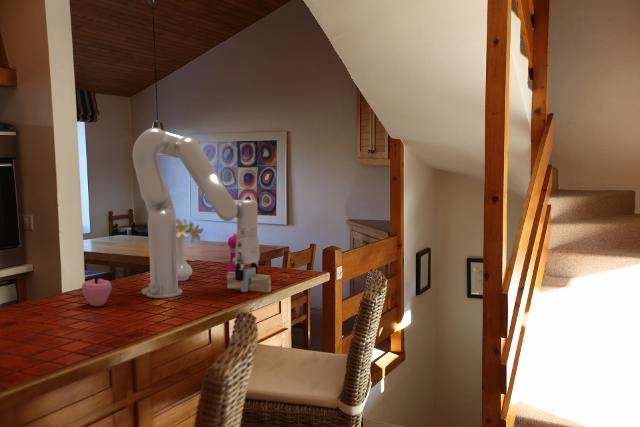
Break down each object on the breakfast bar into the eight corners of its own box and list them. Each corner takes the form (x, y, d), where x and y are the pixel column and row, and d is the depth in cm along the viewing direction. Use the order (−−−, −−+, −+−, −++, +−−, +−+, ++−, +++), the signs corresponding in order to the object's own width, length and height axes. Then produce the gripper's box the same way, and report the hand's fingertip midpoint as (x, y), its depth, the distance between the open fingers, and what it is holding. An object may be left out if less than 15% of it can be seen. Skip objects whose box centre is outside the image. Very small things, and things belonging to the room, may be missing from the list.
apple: (117, 304, 199) (116, 275, 198) (96, 310, 192) (94, 280, 191) (98, 301, 204) (97, 272, 203) (77, 306, 197) (75, 277, 196)
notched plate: (241, 291, 217) (240, 270, 217) (251, 287, 224) (251, 267, 223) (245, 292, 216) (245, 270, 216) (255, 288, 223) (255, 267, 222)
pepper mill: (247, 279, 239) (246, 230, 237) (242, 283, 232) (242, 233, 230) (229, 279, 240) (228, 230, 238) (225, 283, 232) (223, 232, 230)
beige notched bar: (268, 292, 215) (267, 276, 215) (227, 288, 223) (226, 272, 223) (270, 291, 217) (270, 275, 216) (230, 287, 225) (229, 271, 224)
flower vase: (194, 284, 231) (192, 220, 228) (154, 281, 237) (152, 219, 234) (210, 277, 243) (209, 217, 241) (172, 275, 249) (170, 216, 246)
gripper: (242, 236, 209) (242, 283, 210) (267, 231, 224) (267, 275, 226) (225, 234, 212) (224, 281, 213) (251, 229, 227) (250, 273, 229)
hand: (246, 278), depth 219 cm, fingers open, 9 cm apart
